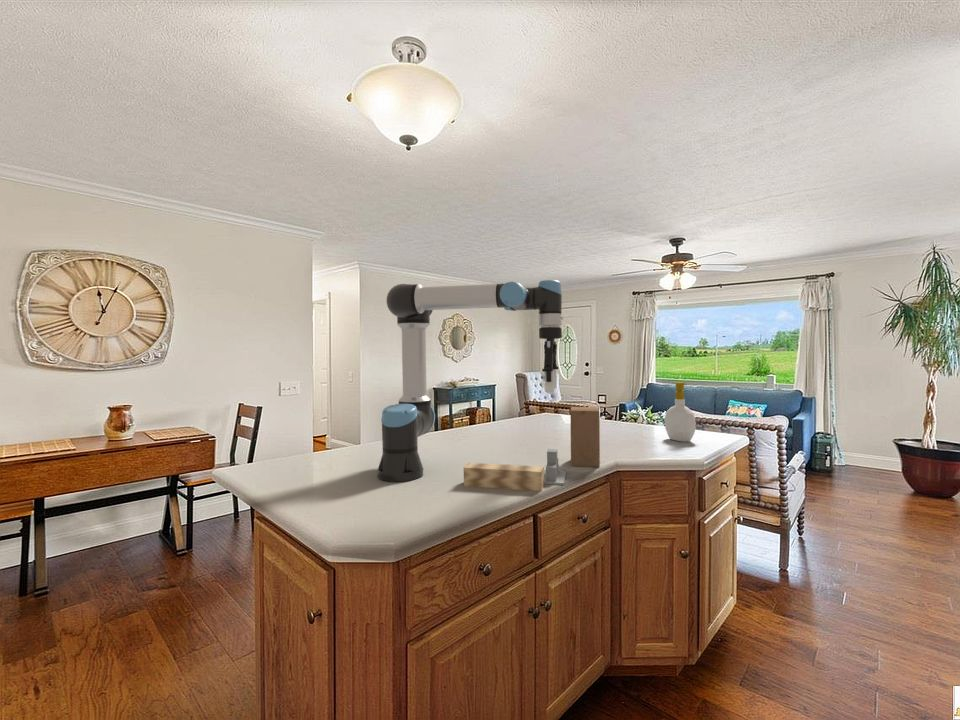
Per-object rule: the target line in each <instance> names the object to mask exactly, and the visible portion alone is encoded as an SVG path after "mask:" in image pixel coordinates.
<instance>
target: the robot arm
mask: <svg viewBox="0 0 960 720" xmlns="http://www.w3.org/2000/svg"><path fill="white" fill-rule="evenodd" d="M562 295H563V293H562V284H561V282H560V281H559V280H556V279H545V280H544V279H543V280H541V281H539V282H538V286H535V287H525V286H523V284H521V283H519V282H517V281H513V280H512V281H508V282H504V283H489V284H488V283H485V284H465V285H462V284H461V285H443V286H442V285H441V286H423V284H420V283H415V284H412V283H411V284H410V283H409V284H407V283H400V284H399V283H398V284H396V285H394V286H393V287H392V288H391V289H389V290H388V292H387V295H386V298H385V299H386V306H387V308H388V310H389V311H390V313H391V314H392V315H393V316H395V317H396V319H397V326H398V327H399V328H400V329H401V355H402V356H401V359H402V360H401V361H402V362H401V363H402V364H401V365H402V369H401V370H402V373H401V374H402V396H401V397H400V398H399V399H398V403H396V404H391V405H388V406H386V407H384V408H383V410H382V412H381V418H380V419H381V432H382V433H381V434H382V435H381V436H382V437H381V439H382V441H381V443H382V455H381V458H380V462H379V464H378V467H377V478H378V479H379V480H381V481H386V482H406V481H407V482H408V481H412V480H416V479H419V478H422V476H424V466H423V463H422V461H421V458H420V455H419V452H418V448H419V447H418V445H419V444H418V441H419V440H418V438H419V437H421V436H423V435H425V434H428V432H429V431H431V429H432V428H433V426H434V424H435V421H436V414H435V413H436V412H435V409H433V407H432V398H430V396H428V395H427V350H426V349H427V348H426V347H427V346H426V345H427V343H426V342H427V341H426V340H427V338H426V329H427V328H428V327H429V326H430V324H431V323H430V320H431V319H430V316H431V315H432V314H433V311H440V310H441V311H442V310H446V311H447V310H465V309H467V310H469V309H490V308H491V309H494V308H495V309H497V308H499V309H500V308H503V309H504V310H505V311H512V312H515V311H530V310H538V326H539V327H540V328H539V329H538V334H539V335H538V338H539V339H540V340H541V339H542V340H545V341H544V344H543V348H544V351H543V352H544V360H543V361H544V362H543V368H541V369H542V372H544V393H554V389H557V370H559V366H558V364H557V348H558V346H557V345H558V344H557V342H556V341H555V339H557V340H558V339H562V335H563V330H562V327H560V326H562V323H563V322H562V320H564V316H562V305H563V304H562V303H563V302H562V297H563V296H562Z"/></svg>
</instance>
